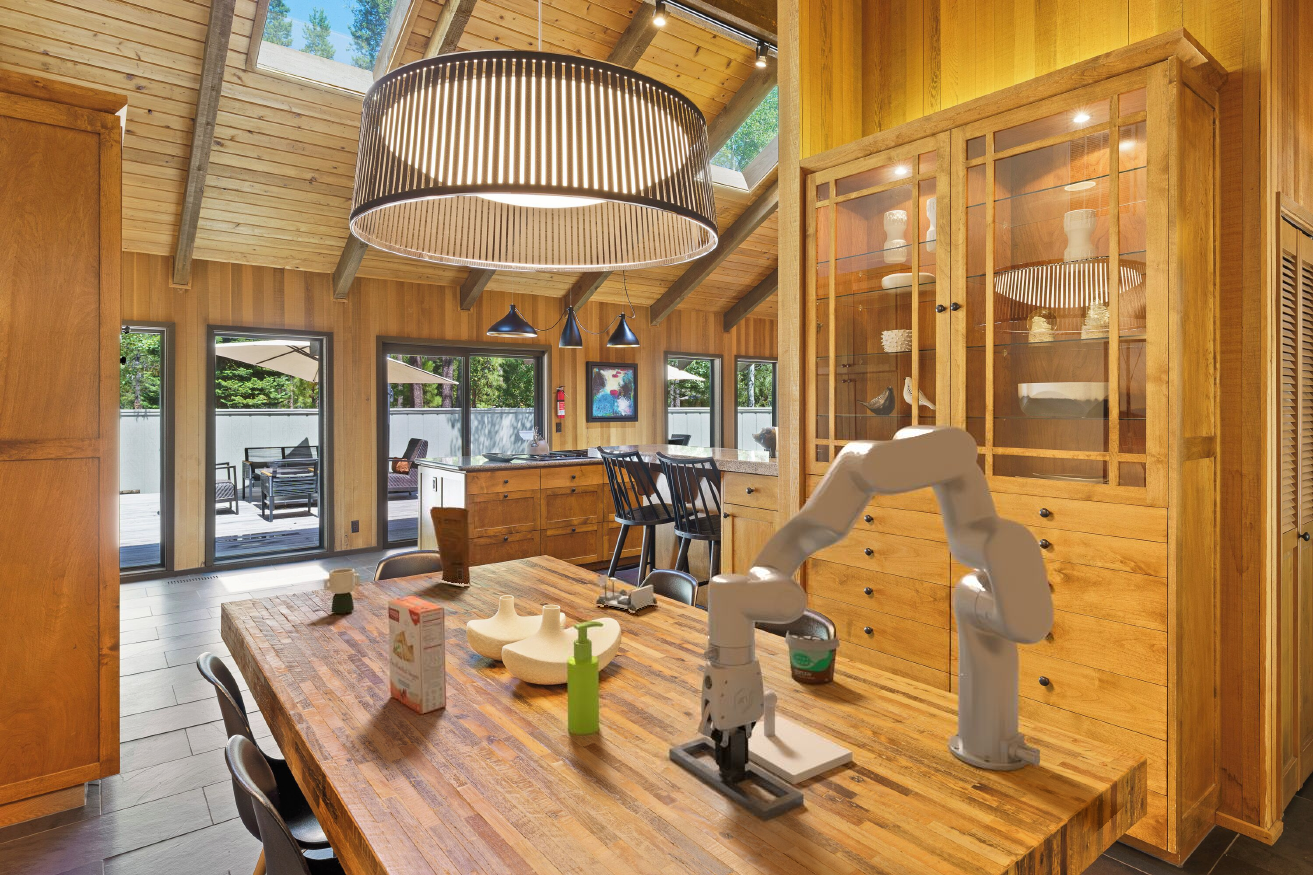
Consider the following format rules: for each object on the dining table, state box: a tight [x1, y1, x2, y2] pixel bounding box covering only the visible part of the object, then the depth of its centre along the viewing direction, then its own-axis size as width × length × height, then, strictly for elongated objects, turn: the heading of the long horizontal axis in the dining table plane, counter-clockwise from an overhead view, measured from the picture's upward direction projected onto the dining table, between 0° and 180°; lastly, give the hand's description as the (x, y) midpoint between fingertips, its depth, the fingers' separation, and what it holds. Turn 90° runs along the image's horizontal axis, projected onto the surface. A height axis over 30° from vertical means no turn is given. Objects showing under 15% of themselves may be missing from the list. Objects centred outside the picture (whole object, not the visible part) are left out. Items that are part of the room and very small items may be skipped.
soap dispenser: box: [566, 620, 604, 736], centre depth 135 cm, size 6×7×20 cm
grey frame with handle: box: [668, 727, 805, 822], centre depth 116 cm, size 24×8×8 cm, turn 34°
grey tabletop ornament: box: [595, 574, 658, 612], centre depth 223 cm, size 18×10×12 cm
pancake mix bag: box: [429, 506, 471, 585], centre depth 253 cm, size 7×19×28 cm, turn 52°
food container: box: [784, 629, 841, 686], centre depth 158 cm, size 12×6×10 cm, turn 62°
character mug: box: [323, 568, 361, 614], centre depth 217 cm, size 11×7×13 cm, turn 138°
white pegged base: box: [748, 690, 853, 785], centre depth 125 cm, size 18×14×9 cm
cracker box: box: [387, 595, 447, 715], centre depth 148 cm, size 14×6×21 cm, turn 45°
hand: (731, 762), depth 116 cm, fingers closed on grey frame with handle, 3 cm apart
